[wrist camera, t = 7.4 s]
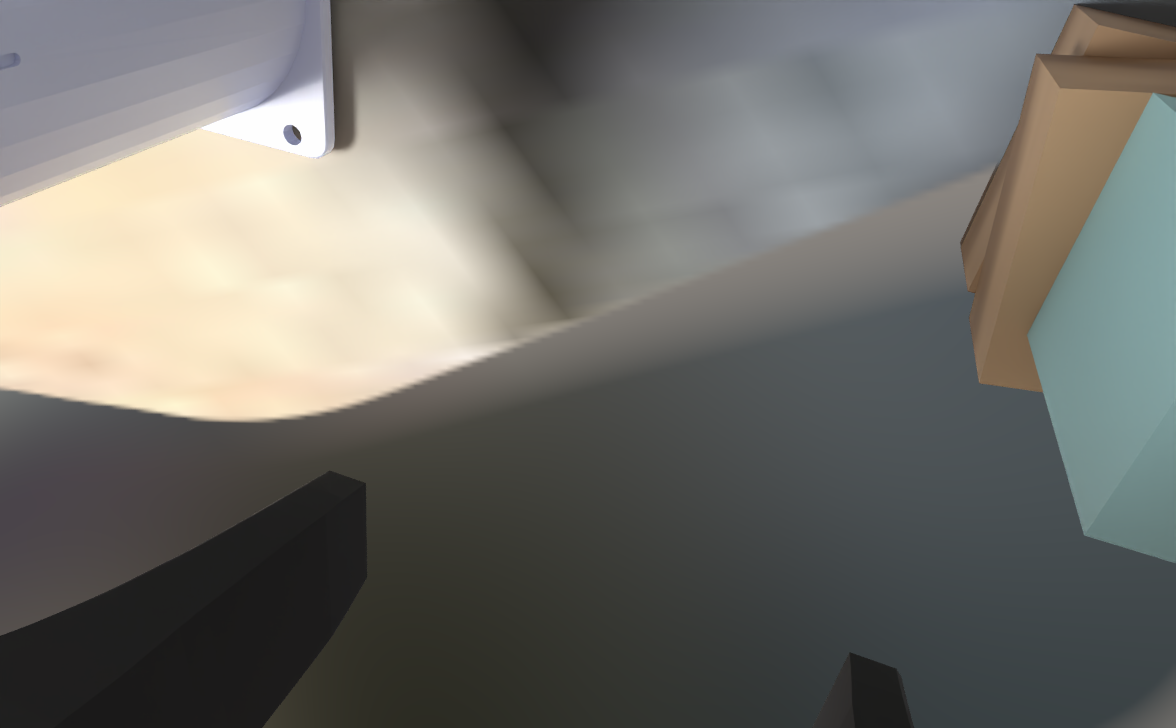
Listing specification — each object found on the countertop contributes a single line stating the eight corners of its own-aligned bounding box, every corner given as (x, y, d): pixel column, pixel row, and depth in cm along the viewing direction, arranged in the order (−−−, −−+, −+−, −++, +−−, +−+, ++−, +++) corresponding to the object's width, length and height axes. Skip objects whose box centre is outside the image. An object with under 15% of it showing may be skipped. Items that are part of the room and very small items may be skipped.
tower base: (959, 242, 18) (967, 290, 16) (1071, 2, 15) (1098, 24, 13) (1200, 308, 17) (1240, 369, 15) (1365, 68, 15) (1441, 102, 13)
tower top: (968, 318, 16) (979, 383, 14) (1036, 53, 14) (1059, 88, 12) (1263, 353, 15) (1321, 431, 13) (1399, 68, 12) (1497, 110, 10)
